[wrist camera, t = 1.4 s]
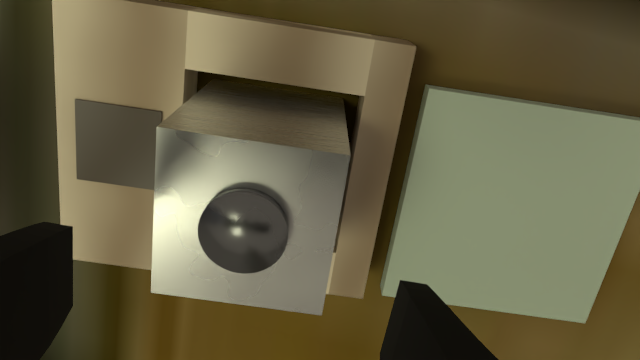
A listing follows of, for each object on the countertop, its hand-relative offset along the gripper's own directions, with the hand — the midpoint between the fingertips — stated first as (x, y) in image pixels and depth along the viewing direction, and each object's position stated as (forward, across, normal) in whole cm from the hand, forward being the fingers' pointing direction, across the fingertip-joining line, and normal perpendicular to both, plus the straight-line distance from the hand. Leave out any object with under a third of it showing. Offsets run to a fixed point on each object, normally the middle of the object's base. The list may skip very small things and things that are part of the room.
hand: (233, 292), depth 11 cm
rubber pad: (+10, -10, +1) cm, 14 cm away
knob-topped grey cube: (+10, 0, 0) cm, 10 cm away
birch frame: (+10, +2, 0) cm, 10 cm away
